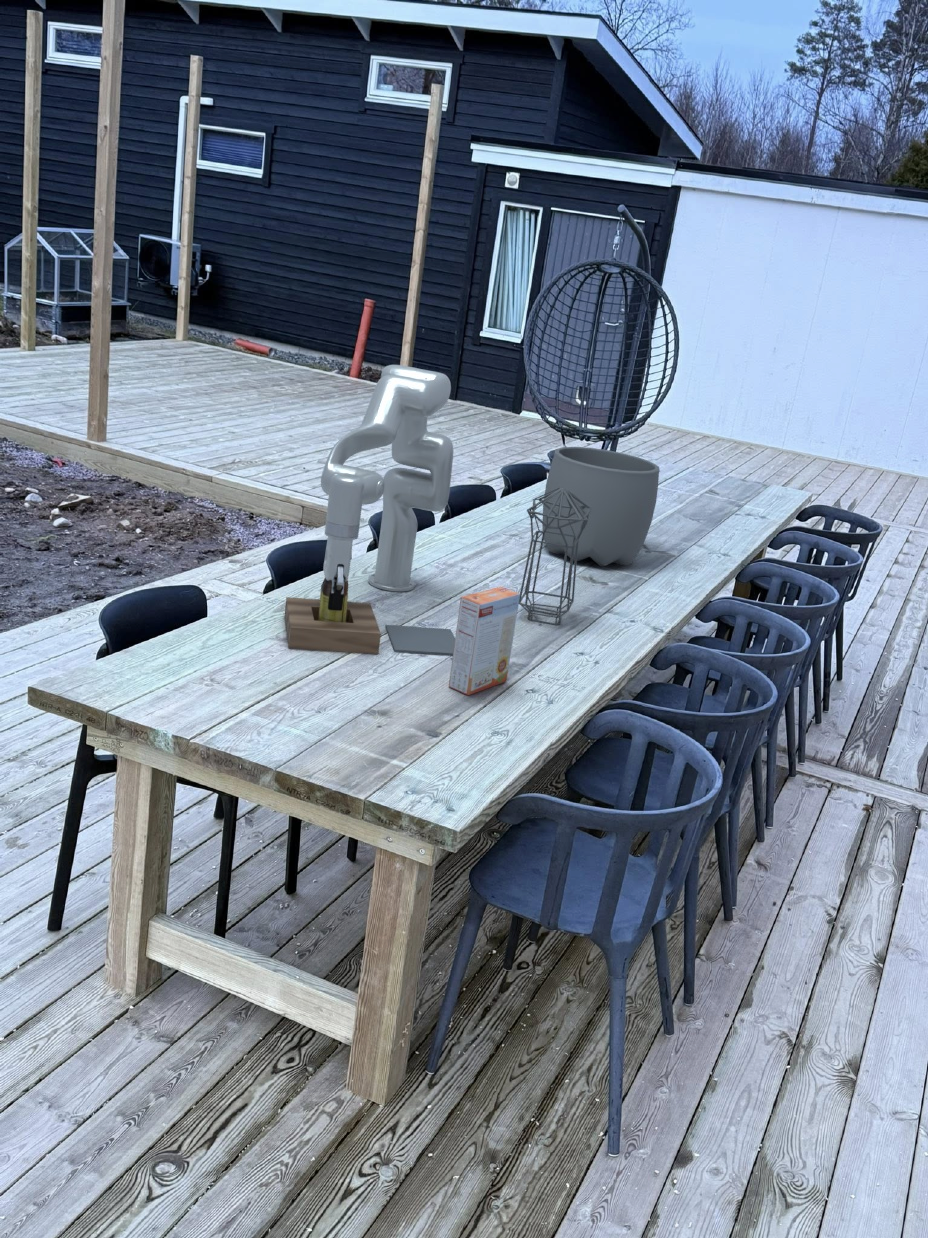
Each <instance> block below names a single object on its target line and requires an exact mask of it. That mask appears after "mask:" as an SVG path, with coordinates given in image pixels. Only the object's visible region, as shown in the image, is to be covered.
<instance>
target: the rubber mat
mask: <svg viewBox="0 0 928 1238" xmlns="http://www.w3.org/2000/svg"><path fill="white" fill-rule="evenodd" d="M385 630H386V633H387V635H388V639H389V641H390V643H391V645H392V649H393V652H394V653H400V654H401V653H404V654H405V653H407V654H420V655H433V656H434V655H436V656H449V657H453V651H454V644H455V637H456V636H454V633H453V631H452V629H451V628H439V627H426V626H425V627H424V626H413V625H411V626H410V625H400V624H399V625H398V624H397V625H396V624H385Z"/></svg>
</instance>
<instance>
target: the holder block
mask: <svg viewBox="0 0 928 1238" xmlns="http://www.w3.org/2000/svg"><path fill="white" fill-rule="evenodd" d="M319 606H320V598H318V599H316V598H305V597H293V596H292V597H290V596H285V607H284V616H283V617H284V618H283V619H284V624H285V625H284V626H285V631H286V638H287V639H286V640H287V646H288V647H287V648H288V650H289V649H290V650H302V651H304V650H305V651H319V652H335V653H351V654H353V653H354V654H369V655H379V652H380V651H379V650H380V642H381V637H382V636H381V635H382V633H381V630H380V626H379V624H378V621H377V618H376V615H375V612H374V610H373V608H372V604H371V603H369V602H360V601H359V602H358V601H357V602H356V601H347V611H346V622H345V623H344V622H330V621H318V618H319Z"/></svg>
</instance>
